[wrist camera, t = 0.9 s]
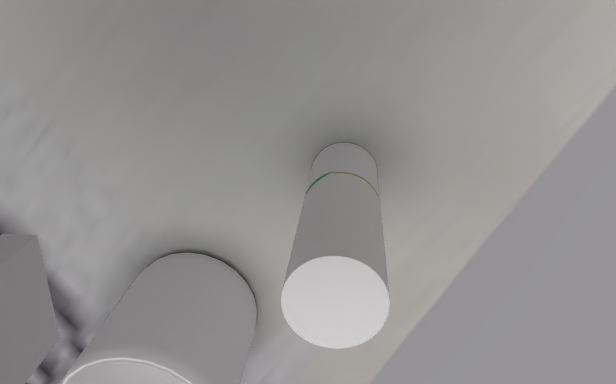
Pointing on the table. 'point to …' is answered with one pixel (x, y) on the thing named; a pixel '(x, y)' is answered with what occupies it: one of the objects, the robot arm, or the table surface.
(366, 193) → the tube
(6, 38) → the table surface
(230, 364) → the mug
